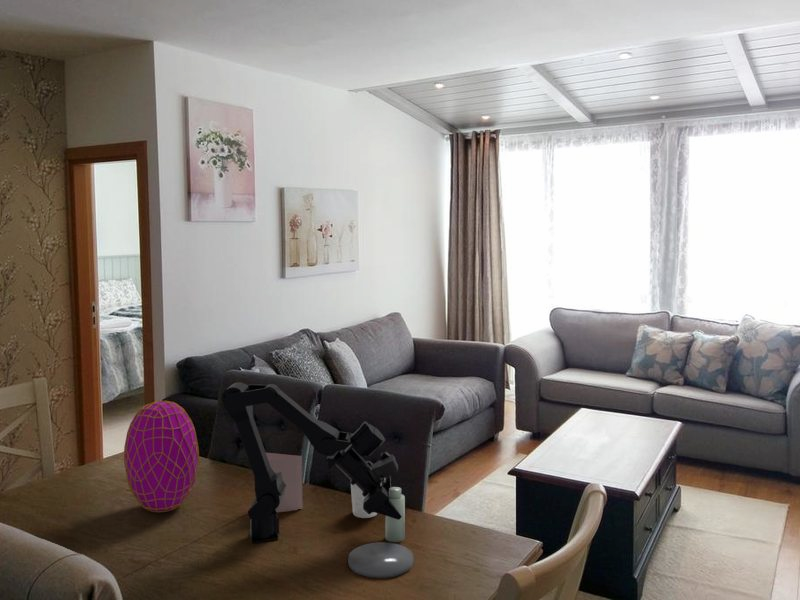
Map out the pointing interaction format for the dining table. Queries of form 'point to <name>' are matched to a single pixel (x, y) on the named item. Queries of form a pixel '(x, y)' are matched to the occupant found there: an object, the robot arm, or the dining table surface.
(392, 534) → the pale green bottle
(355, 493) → the white cup
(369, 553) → the gray round disc
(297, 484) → the greeting card
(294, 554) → the dining table surface
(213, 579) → the dining table surface
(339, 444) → the robot arm
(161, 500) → the decorative egg
